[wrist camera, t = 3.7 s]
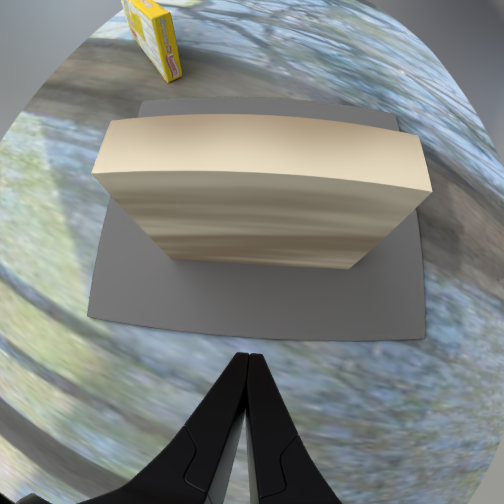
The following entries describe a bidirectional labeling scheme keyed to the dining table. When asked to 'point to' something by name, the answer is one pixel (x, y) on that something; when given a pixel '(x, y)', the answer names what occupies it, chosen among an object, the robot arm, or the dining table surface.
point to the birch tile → (262, 186)
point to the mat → (261, 276)
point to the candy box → (154, 35)
